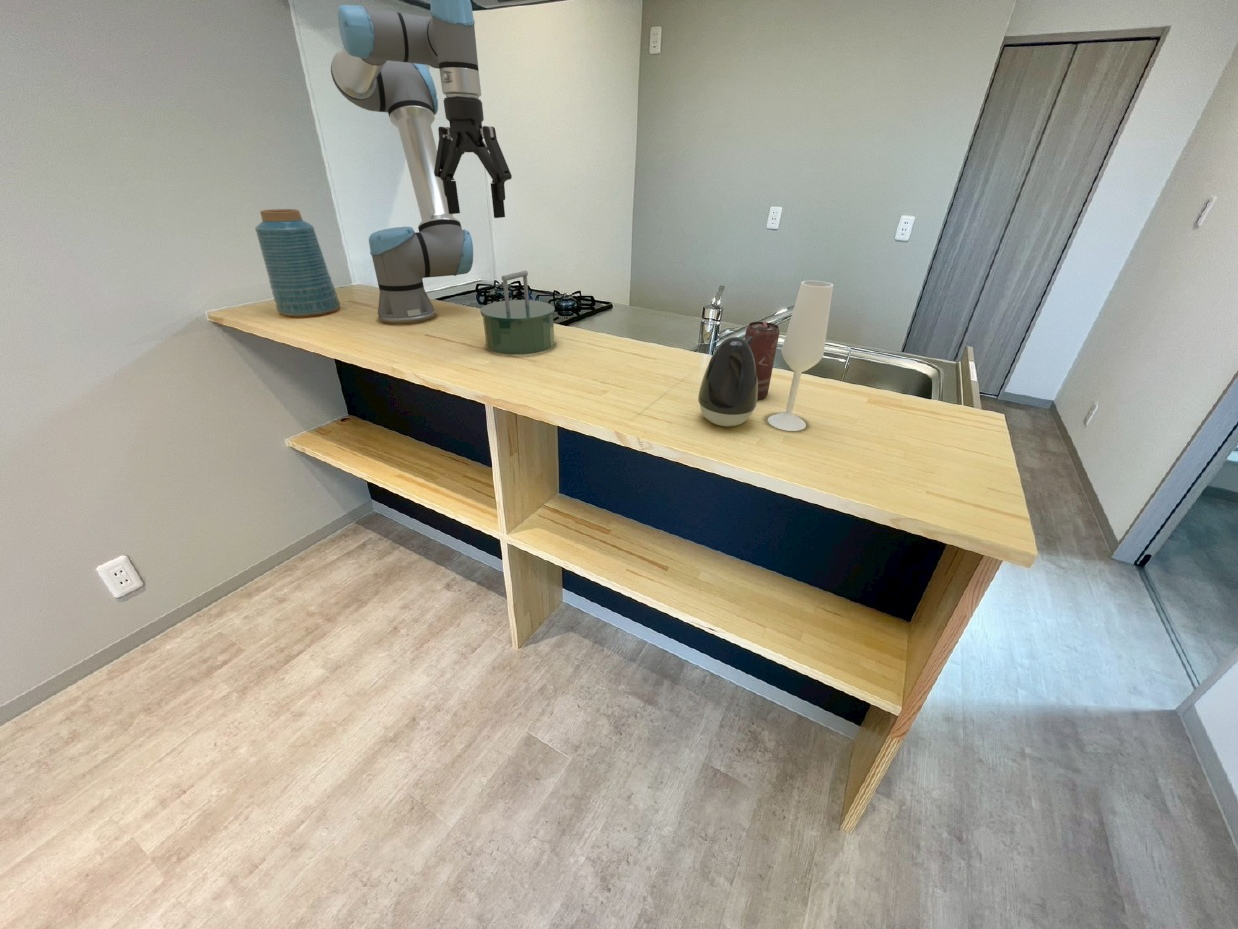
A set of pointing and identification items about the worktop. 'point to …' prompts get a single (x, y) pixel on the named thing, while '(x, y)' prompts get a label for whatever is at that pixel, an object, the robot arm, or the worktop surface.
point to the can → (763, 352)
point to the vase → (295, 265)
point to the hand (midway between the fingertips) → (476, 215)
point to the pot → (519, 335)
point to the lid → (517, 305)
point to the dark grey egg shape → (730, 383)
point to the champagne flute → (804, 343)
